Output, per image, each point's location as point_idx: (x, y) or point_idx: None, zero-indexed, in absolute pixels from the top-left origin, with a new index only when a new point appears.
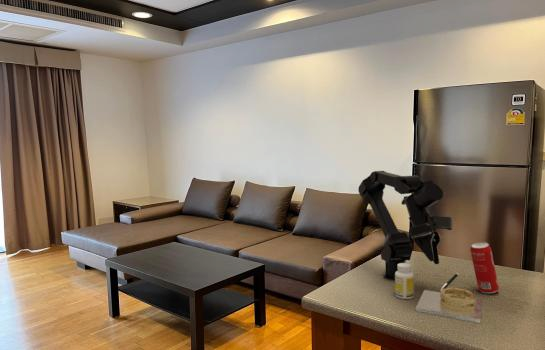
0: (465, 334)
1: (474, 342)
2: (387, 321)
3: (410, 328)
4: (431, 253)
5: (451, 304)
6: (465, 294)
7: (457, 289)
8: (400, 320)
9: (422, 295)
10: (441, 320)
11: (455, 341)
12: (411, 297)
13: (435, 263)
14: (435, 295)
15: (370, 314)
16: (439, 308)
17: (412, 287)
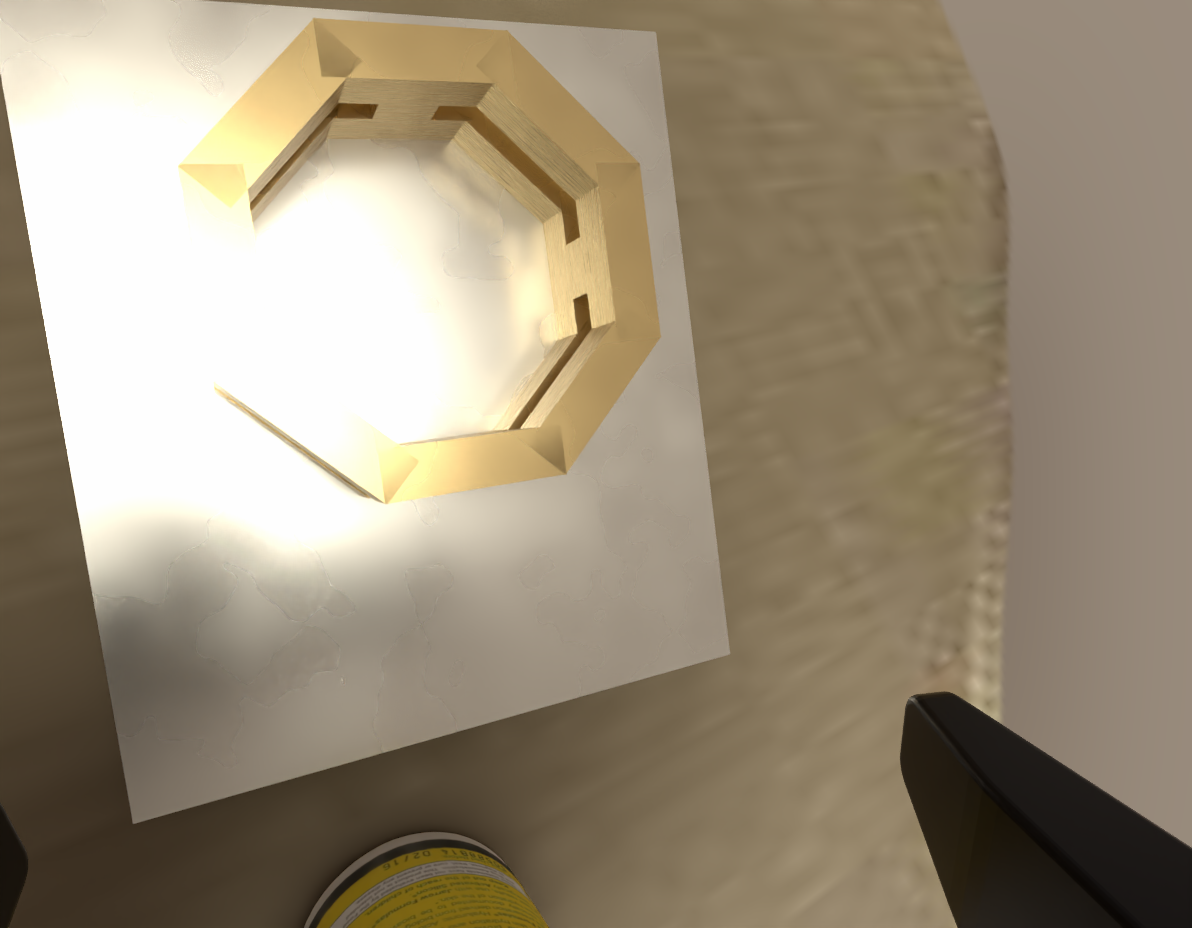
0: (879, 163)
1: (947, 94)
2: None
3: (988, 550)
4: (1127, 843)
5: (581, 327)
6: (265, 180)
7: (257, 291)
8: (924, 668)
9: (372, 744)
10: (762, 382)
11: (994, 220)
12: (456, 835)
13: (11, 882)
14: (262, 610)
15: None
16: (627, 446)
17: (471, 896)
